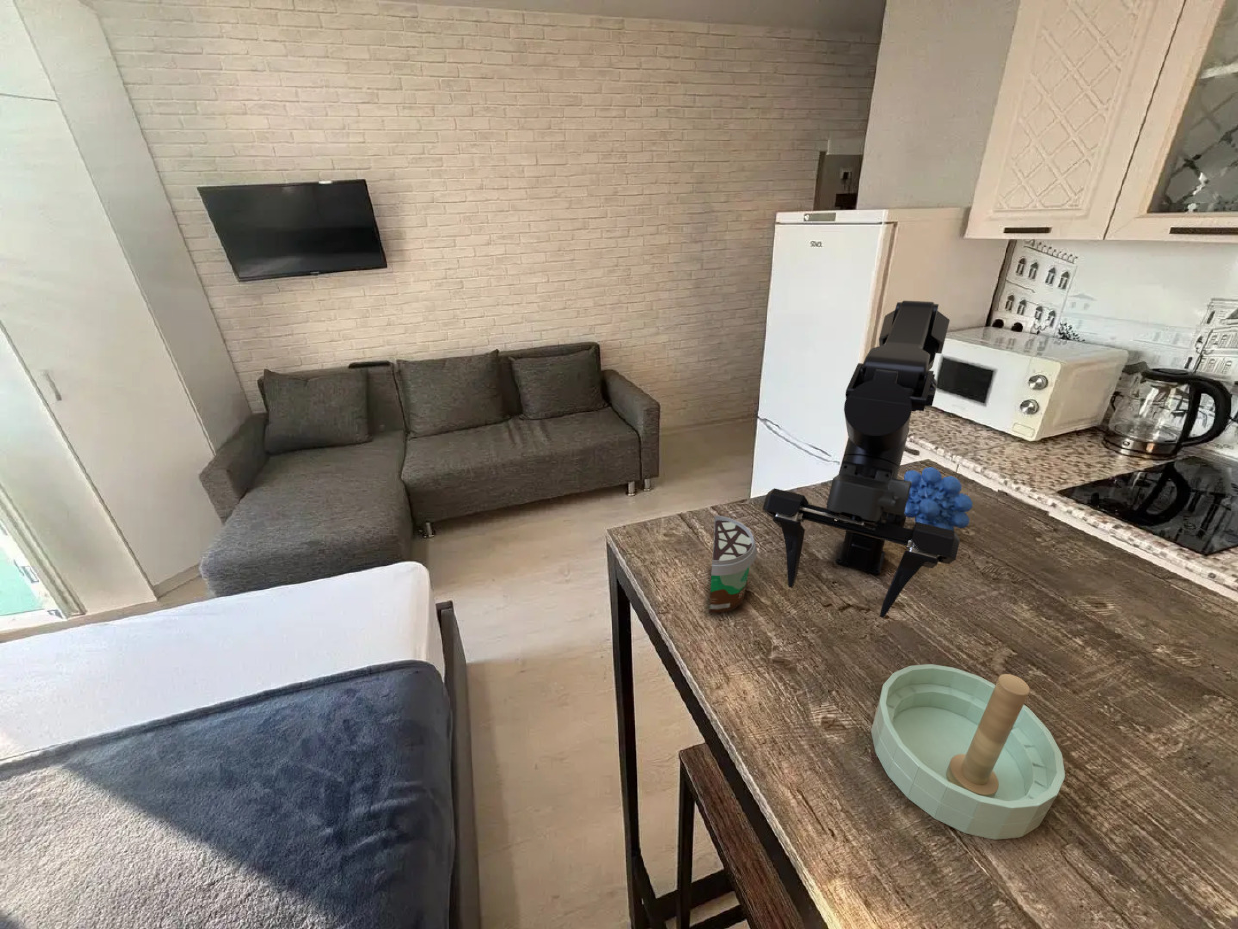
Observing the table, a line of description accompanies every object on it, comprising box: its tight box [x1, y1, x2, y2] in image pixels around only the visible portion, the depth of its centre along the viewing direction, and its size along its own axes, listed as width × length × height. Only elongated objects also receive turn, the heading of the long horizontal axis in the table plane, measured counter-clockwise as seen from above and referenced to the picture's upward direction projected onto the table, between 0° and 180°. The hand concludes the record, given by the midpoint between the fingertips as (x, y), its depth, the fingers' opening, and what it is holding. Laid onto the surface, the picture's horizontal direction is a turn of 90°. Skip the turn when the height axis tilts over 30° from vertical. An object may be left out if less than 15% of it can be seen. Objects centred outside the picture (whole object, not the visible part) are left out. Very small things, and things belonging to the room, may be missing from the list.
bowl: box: [870, 663, 1066, 841], centre depth 51 cm, size 15×15×6 cm
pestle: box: [946, 673, 1031, 798], centre depth 47 cm, size 4×4×14 cm
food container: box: [708, 514, 758, 614], centre depth 74 cm, size 12×6×10 cm, turn 168°
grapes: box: [903, 466, 974, 531], centre depth 86 cm, size 12×7×12 cm, turn 51°
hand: (834, 601), depth 54 cm, fingers open, 9 cm apart
